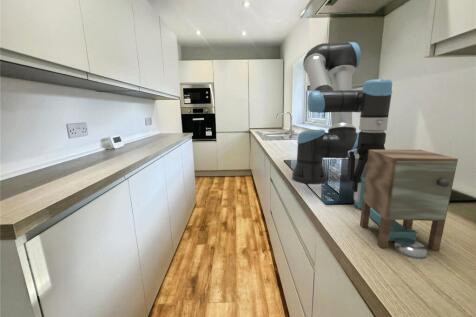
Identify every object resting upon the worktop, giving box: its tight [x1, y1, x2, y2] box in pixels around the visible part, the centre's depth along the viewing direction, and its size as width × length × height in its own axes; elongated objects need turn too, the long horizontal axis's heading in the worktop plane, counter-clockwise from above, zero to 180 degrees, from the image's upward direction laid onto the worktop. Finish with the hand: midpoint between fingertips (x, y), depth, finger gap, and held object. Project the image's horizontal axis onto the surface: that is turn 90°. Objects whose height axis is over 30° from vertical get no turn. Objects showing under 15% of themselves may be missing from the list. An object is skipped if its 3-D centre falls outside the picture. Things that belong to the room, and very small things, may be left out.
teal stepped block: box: [353, 175, 418, 242], centre depth 65 cm, size 23×6×10 cm, turn 175°
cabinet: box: [359, 149, 459, 252], centre depth 54 cm, size 13×13×22 cm
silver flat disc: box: [393, 238, 428, 260], centre depth 52 cm, size 6×6×2 cm
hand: (364, 200), depth 75 cm, fingers closed on teal stepped block, 4 cm apart
